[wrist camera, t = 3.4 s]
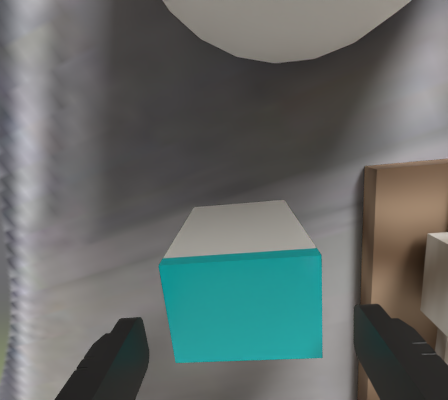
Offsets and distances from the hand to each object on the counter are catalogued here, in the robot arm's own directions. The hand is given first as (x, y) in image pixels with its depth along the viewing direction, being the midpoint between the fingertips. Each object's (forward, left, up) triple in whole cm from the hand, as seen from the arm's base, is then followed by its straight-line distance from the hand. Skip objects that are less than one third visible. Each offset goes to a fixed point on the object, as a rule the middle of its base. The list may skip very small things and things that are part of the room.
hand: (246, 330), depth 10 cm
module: (-1, 0, -8) cm, 8 cm away
